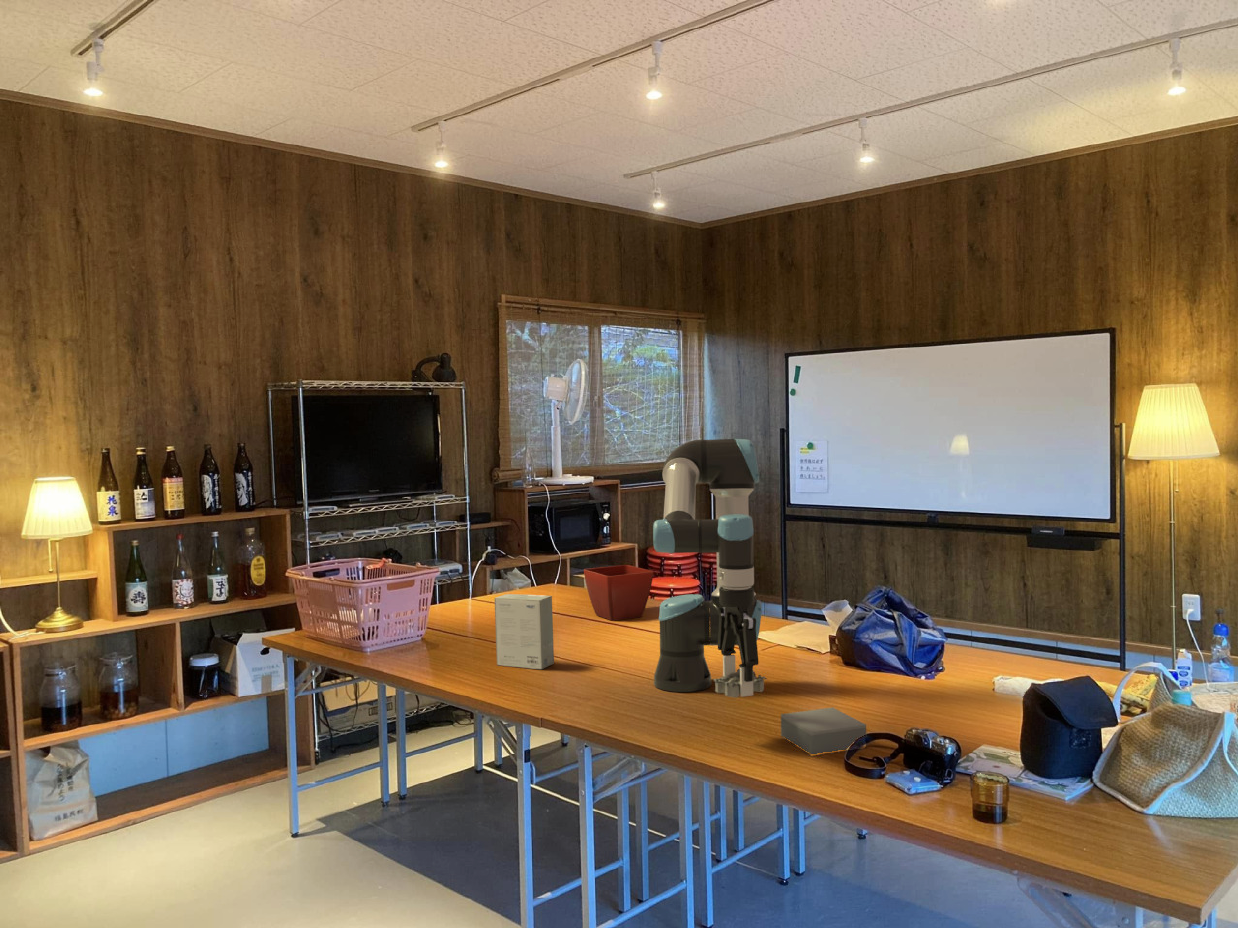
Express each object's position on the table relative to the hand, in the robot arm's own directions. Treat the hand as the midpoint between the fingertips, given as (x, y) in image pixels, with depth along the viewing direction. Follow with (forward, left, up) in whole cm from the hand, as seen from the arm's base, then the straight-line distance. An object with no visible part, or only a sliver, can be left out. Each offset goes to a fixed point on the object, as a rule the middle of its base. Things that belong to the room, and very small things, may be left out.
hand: (737, 689), depth 204 cm
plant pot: (-135, +18, -11) cm, 136 cm away
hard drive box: (-81, -29, -11) cm, 86 cm away
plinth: (+9, +15, -11) cm, 21 cm away
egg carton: (0, +1, -1) cm, 1 cm away
